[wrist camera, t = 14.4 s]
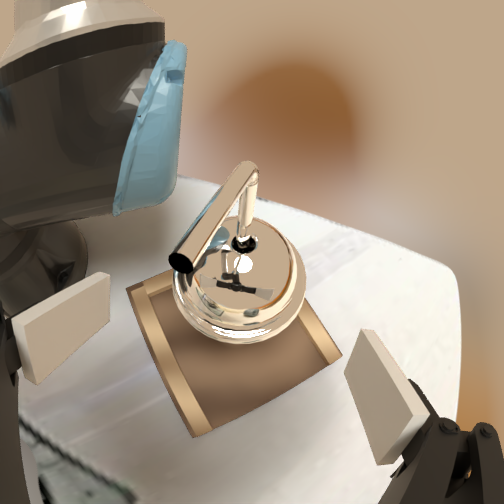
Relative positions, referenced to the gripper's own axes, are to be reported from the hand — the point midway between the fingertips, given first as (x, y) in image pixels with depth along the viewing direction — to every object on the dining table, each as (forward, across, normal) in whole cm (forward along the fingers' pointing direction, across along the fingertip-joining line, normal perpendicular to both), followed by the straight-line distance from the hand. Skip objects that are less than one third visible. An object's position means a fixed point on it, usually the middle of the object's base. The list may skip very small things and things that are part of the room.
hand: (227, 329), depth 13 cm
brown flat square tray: (+12, 0, -7) cm, 14 cm away
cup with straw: (+12, 0, -6) cm, 13 cm away
